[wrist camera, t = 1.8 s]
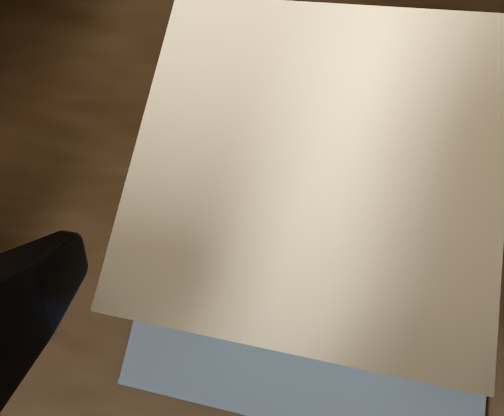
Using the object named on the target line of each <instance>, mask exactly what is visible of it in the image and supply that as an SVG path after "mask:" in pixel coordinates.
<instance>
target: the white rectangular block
mask: <svg viewBox="0 0 504 416" xmlns="http://www.w3.org/2000/svg"><path fill="white" fill-rule="evenodd" d="M503 244H504V13H491V12H474V11H457V10H440V9H423V8H406V7H389V6H372V5H355V4H338V3H321V2H303V1H286V0H175V1H174V5H173V8H172V12H171V16H170V19H169V23H168V27H167V30H166V34H165V38H164V41H163V45H162V49H161V53H160V56H159V60H158V64H157V67H156V71H155V75H154V78H153V82H152V86H151V89H150V93H149V97H148V100H147V104H146V108H145V111H144V115H143V119H142V123H141V126H140V130H139V134H138V137H137V141H136V145H135V148H134V152H133V156H132V159H131V163H130V167H129V170H128V174H127V178H126V182H125V185H124V189H123V193H122V196H121V200H120V204H119V207H118V211H117V215H116V218H115V222H114V226H113V229H112V233H111V237H110V240H109V244H108V248H107V252H106V255H105V259H104V263H103V266H102V270H101V274H100V277H99V281H98V285H97V288H96V292H95V296H94V299H93V303H92V307H91V311H92V312H97V313H101V314H106V315H111V316H115V317H120V318H125V319H129V320H134V321H139V322H143V323H148V324H153V325H157V326H162V327H167V328H171V329H176V330H181V331H185V332H190V333H195V334H199V335H204V336H209V337H213V338H218V339H223V340H227V341H232V342H237V343H241V344H246V345H251V346H255V347H260V348H264V349H269V350H274V351H278V352H283V353H288V354H292V355H297V356H302V357H306V358H311V359H316V360H320V361H325V362H330V363H334V364H339V365H344V366H348V367H353V368H358V369H362V370H367V371H372V372H376V373H381V374H386V375H390V376H395V377H400V378H404V379H409V380H414V381H418V382H423V383H428V384H432V385H437V386H442V387H446V388H451V389H456V390H460V391H465V392H470V393H474V394H479V395H484V396H488V397H493V398H494V388H495V372H496V356H497V340H498V324H499V308H500V292H501V276H502V260H503Z"/></svg>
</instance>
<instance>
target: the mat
mask: <svg viewBox="0 0 504 416" xmlns="http://www.w3.org/2000/svg"><path fill="white" fill-rule="evenodd" d="M118 384H121V385H125V386H129V387H133V388H137V389H141V390H145V391H149V392H153V393H157V394H161V395H165V396H170V397H174V398H178V399H182V400H186V401H190V402H194V403H198V404H202V405H206V406H210V407H214V408H218V409H222V410H226V411H230V412H234V413H239V414H243V415H247V416H485V407H486V396H484V395H479V394H474V393H470V392H465V391H460V390H456V389H451V388H446V387H442V386H437V385H432V384H428V383H423V382H418V381H414V380H409V379H404V378H400V377H395V376H390V375H386V374H381V373H376V372H372V371H367V370H362V369H358V368H353V367H348V366H344V365H339V364H334V363H330V362H325V361H320V360H316V359H311V358H306V357H302V356H297V355H292V354H288V353H283V352H278V351H274V350H269V349H264V348H260V347H255V346H251V345H246V344H241V343H237V342H232V341H227V340H223V339H218V338H213V337H209V336H204V335H199V334H195V333H190V332H185V331H181V330H176V329H171V328H167V327H162V326H157V325H153V324H148V323H143V322H139V321H133V325H132V329H131V333H130V337H129V341H128V345H127V349H126V353H125V357H124V361H123V366H122V370H121V374H120V378H119V382H118Z"/></svg>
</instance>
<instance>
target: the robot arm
mask: <svg viewBox="0 0 504 416" xmlns="http://www.w3.org/2000/svg"><path fill="white" fill-rule="evenodd" d="M87 269H88V261H87V257H86V252H85V247H84V243H83V239H82V237H81V235H80V234H78V233H75V232H69V231H58V232H55V233H53V234H50V235H47V236H45V237H42V238H40V239H37V240H34V241H32V242H29V243H27V244H24V245H21V246H19V247H16V248H14V249H11V250H8V251H6V252H3V253H0V412H1V411H2V409H3V408H4V406H5V405H6V403H7V402H8V400H9V399H10V398H11V396H12V395H13V393H14V392H15V390H16V389H17V387H18V386H19V384H20V383H21V381H22V380H23V378H24V377H25V376H26V374H27V373H28V371H29V370H30V368H31V367H32V365H33V364H34V362H35V361H36V359H37V358H38V356H39V355H40V354H41V352H42V351H43V349H44V348H45V346H46V345H47V343H48V342H49V340H50V339H51V337H52V335H53V334H54V332H55V330H56V329H57V327H58V325H59V324H60V322H61V320H62V318H63V316H64V314H65V313H66V311H67V309H68V307H69V305H70V303H71V301H72V300H73V298H74V296H75V294H76V292H77V290H78V288H79V287H80V285H81V283H82V281H83V279H84V277H85V275H86V273H87Z"/></svg>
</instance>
